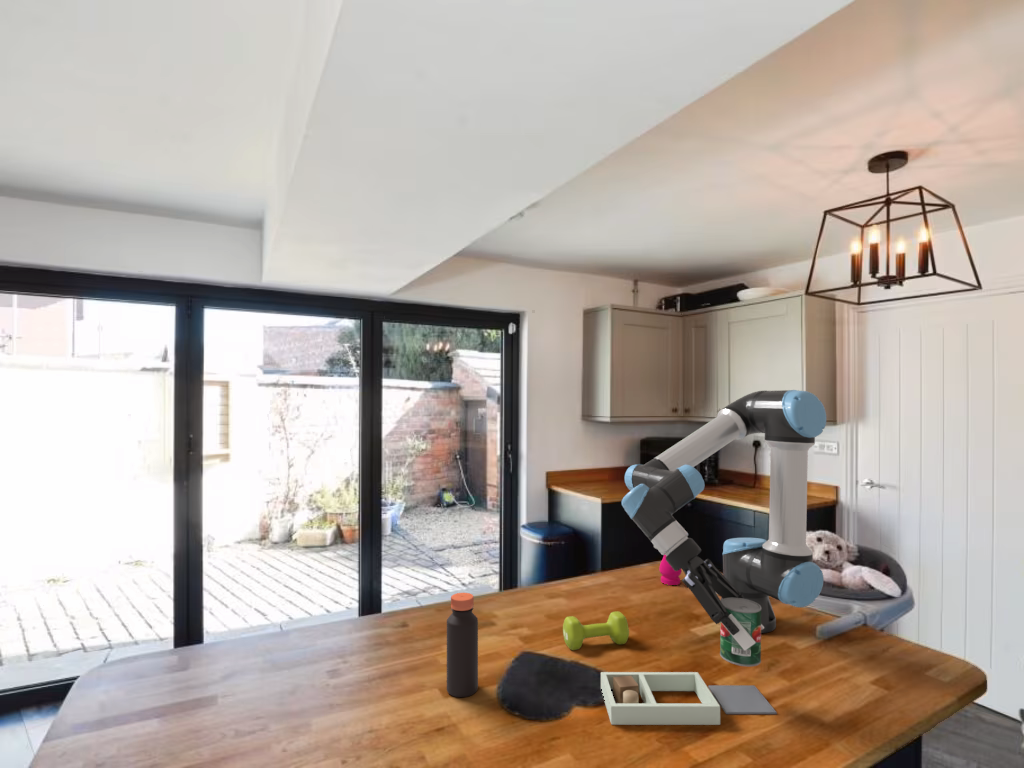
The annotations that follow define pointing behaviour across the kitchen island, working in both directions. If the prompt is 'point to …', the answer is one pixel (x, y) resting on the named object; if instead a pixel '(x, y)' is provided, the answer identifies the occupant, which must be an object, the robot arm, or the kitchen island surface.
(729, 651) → the canned tomato
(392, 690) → the kitchen island surface
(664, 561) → the pepper mill
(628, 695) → the beech dowel
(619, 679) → the walnut block
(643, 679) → the caddy
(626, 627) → the dumbbell
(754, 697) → the slate coaster
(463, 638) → the bottle
